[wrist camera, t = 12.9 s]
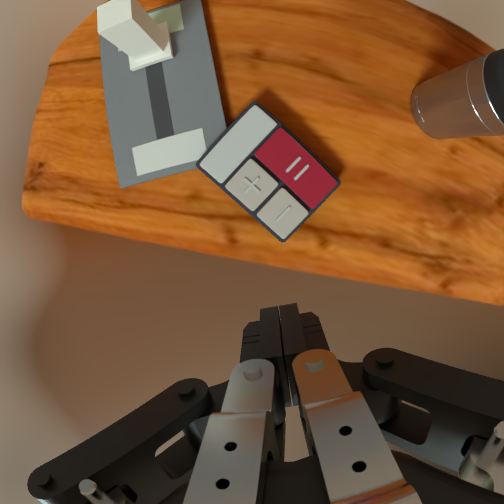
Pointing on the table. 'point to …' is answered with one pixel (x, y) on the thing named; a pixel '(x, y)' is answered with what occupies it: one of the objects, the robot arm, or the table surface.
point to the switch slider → (134, 33)
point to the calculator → (268, 171)
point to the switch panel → (163, 100)
